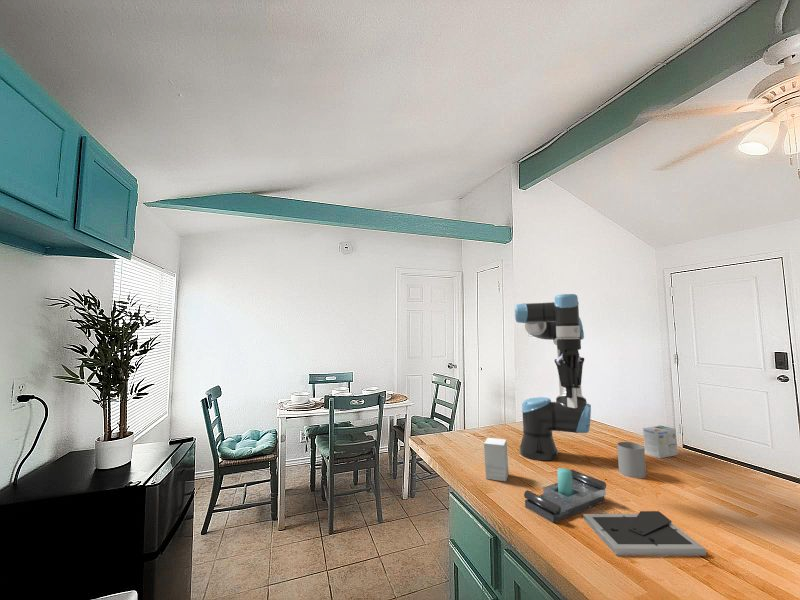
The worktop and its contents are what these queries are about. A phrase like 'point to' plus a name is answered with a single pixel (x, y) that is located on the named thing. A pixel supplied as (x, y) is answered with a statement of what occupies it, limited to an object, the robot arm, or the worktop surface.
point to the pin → (564, 481)
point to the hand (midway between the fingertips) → (572, 407)
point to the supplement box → (496, 459)
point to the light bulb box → (660, 441)
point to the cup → (631, 459)
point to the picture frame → (643, 534)
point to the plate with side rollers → (567, 498)
